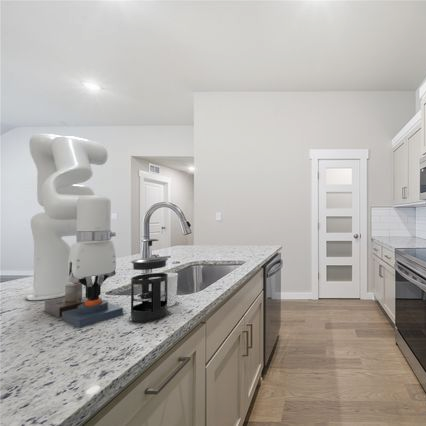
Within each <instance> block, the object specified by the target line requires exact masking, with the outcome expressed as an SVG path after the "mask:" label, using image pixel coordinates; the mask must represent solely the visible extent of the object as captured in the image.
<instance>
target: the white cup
mask: <svg viewBox="0 0 426 426" xmlns="http://www.w3.org/2000/svg"><path fill="white" fill-rule="evenodd" d="M165 273H166V274H168V279H167V308H169V307H172V306H174V305H176V303H177V293H178V292H177V291H178V279H179V277H178V276H179V274H178V273H177V272H165ZM156 278H161V277H153V278H151V279H156ZM161 291H164V292H165V281H163V282H161ZM161 301H165V296H164V297H162V298H161Z"/></svg>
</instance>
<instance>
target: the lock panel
mask: <svg viewBox="0 0 426 426" xmlns="http://www.w3.org/2000/svg"><path fill="white" fill-rule="evenodd" d="M85 294H86V292H82V299H80V300H76V301H69V302H67V301H65V296H63V297H58V298H53V299H48V300H44V312H47V313H49V314H51V315H53V316H54V317H57V318H58V319H59V318H61V319H62V312H64V311H68V310H72V309H76V308H78V306H79V305H80V304H83V303H85V300H87V298H86V296H85ZM99 298H101V300H103V299H102V297H100V296H99Z"/></svg>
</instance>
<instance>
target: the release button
mask: <svg viewBox="0 0 426 426" xmlns="http://www.w3.org/2000/svg"><path fill="white" fill-rule="evenodd" d="M101 298H102V297H100V298H99V299H94V300H92V301H91V300H89V299H87V300H85V306H94V305H98V304H101Z"/></svg>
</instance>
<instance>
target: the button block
mask: <svg viewBox="0 0 426 426" xmlns="http://www.w3.org/2000/svg"><path fill="white" fill-rule="evenodd" d="M123 315H124V307H122V306H119V305H116V304H113V303H110V302H109V301H108V300H107V299H102V300H101V304H98V305H94V306H85V303H83V304H80V305H79V306H78V308H76V309H72V310H68V311H64V312H62V317H61V320H63V321H64V322H67V323H69V324H71V325H73V326H75V327H77V328H78V329H81V328H84V327H87V326H91V325H94V324H97V323H100V322H101V323H102V322H104V321H107V320H111V319H114V318H117V317H118V318H119V317H122V316H123Z"/></svg>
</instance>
